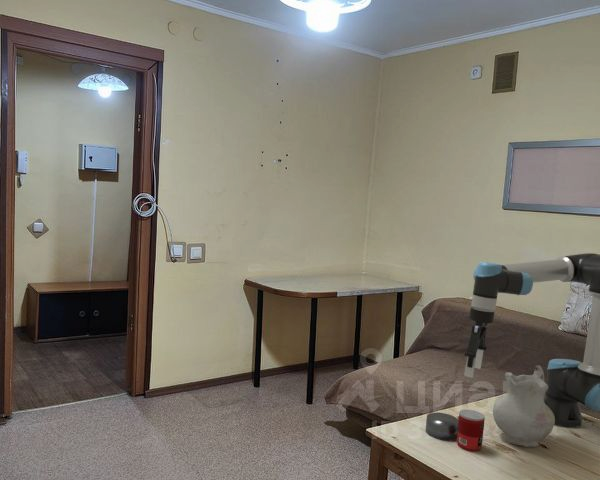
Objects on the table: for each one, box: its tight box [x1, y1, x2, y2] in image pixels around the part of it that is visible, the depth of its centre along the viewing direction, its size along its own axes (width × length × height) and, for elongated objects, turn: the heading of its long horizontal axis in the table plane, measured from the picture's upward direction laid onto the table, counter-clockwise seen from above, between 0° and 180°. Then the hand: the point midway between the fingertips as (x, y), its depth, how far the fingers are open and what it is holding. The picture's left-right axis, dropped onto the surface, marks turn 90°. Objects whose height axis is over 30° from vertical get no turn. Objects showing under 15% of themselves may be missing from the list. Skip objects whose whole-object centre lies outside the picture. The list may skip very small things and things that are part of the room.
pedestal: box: [425, 412, 459, 442], centre depth 179 cm, size 11×11×5 cm
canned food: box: [456, 409, 486, 452], centre depth 170 cm, size 8×8×11 cm
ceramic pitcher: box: [492, 364, 555, 448], centre depth 178 cm, size 22×20×25 cm
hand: (472, 372), depth 170 cm, fingers open, 13 cm apart
